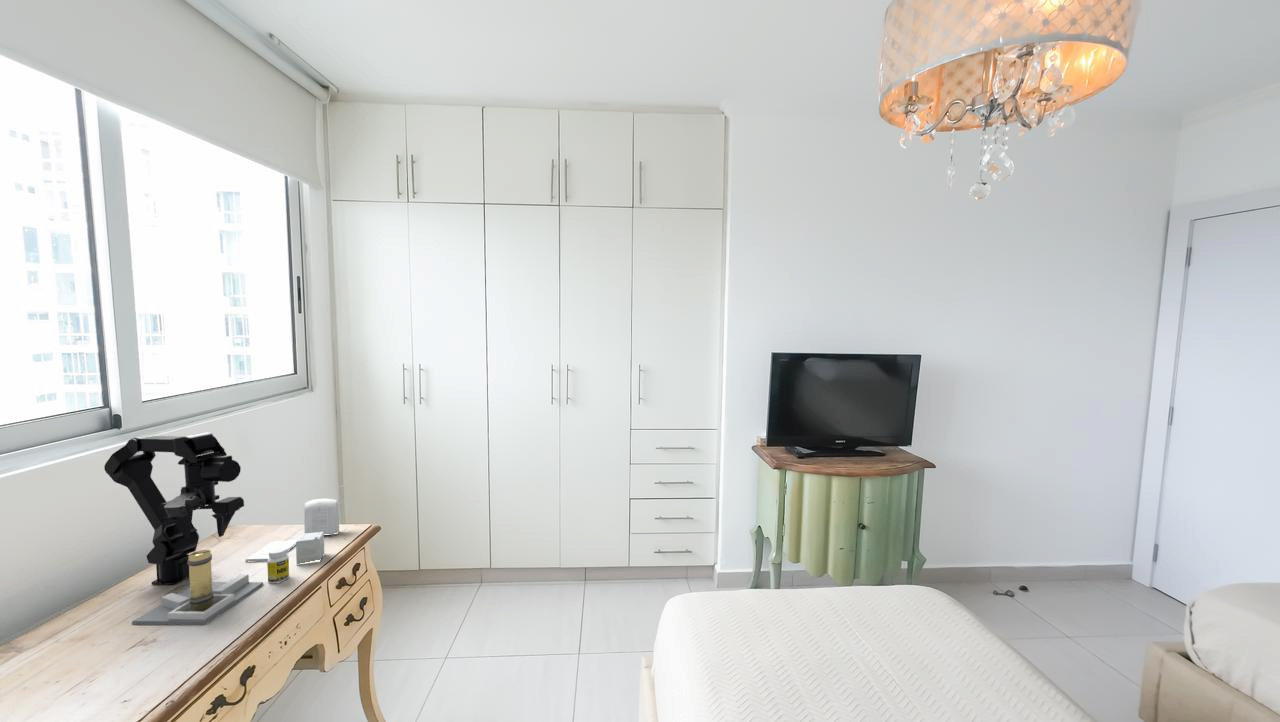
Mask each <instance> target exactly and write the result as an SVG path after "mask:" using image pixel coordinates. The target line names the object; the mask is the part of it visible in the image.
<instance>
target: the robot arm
mask: <svg viewBox="0 0 1280 722" xmlns="http://www.w3.org/2000/svg"><path fill="white" fill-rule="evenodd" d="M155 452H156V453H172V454H174V456H176V457H180V458H182V459H180V460H179V461H178V462H177V464H178V465H179V466H181V465H182V466H184V479H185V486H182V487H181V489H180V494H179V495H178V496H176V497H174V498H173V499H171V500H169V501H167V500H166V499H165V497H164V495H163V494H162V492H161V491H160V489H159V488H158V486H157V485H156V483H155V482H154V480H153V478H152V472H153V467H154V466H153V463H152V462H153V461H154V459H155V457H156V456H157V454H156V453H155ZM103 468H104V471H105V473H106V474H107V475H108V477H110V479H111V480H112V481H113V482H114V483H116V484H119V485H121V486H123V487H126V488H127V489H128V490H129V492H130V493H131V495H132V497H133V498H134V500H135V501H136V503H137V505H138V506H139V507H140V510H141V511H142V512H143V514H144V515H145V517H146V519H147V521H148V522H149V523H150V525H151V527H152V528H153V530H154V531H153V538H152V544H153V548H152V549H151V550H150V551H149V552H148V553H147V554H146V559H147V563H148V564H152V565H155V566H156V579H155V580H153V581H151V585H176V584H178V583H180V582H182V581H183V580H185V579H187V578H190V576H189V565H188V559H189V555H190V554H192V553H194V552H197V547H198V543H199V539H200V535H199V533H198V529H197V528H196V527H195V526H194V524H193V515H194V514H193V512H194V511H197V510H211V511H212V512H213V514H212V515H211V517H213V518H214V519H215V520H216V527H217V528H216V530H217V535H218V538H221V537H223V536H224V535H225V533H226V532H227V531H226V530H227V528H228V527H229V525H230V523H231V520H232V518H233V517H234V515H235V513H236V511H237V512H238V511H239V510H240V509H241V508H243V507H245V501H244V498H242V496H228V497H225V498H223V499H221V500H219V499H220V495H219V494H216V490H215V486H217V485H219V482H221V483H229V482H233V481H235V480H236V479H237V478H238V476H239V475H240V474H241V468H242V467H241V465H240V464H239V462H238V461H237V460H234V459H233V455H228V454H227V451H225V448H224V447H223V446H222V445H221V443H220V442H219V441H218V439H217V438H216V437H215V436H214V434H213V433H212V432H209V431H208V432H202V433H196V434H190V435H186V436H185V435H184V436H171V435H167V436H166V435H163V436H162V435H160V436H159V435H151V434H148V435H143V436H142V435H140V436H137V437H133V438H131V439H129V440H128V441H127V442H126V444H125V445H123V446H122V447H120V448H119V449H118V450H116V451H115V452H113V453H112V454H111V455H110V457H109V458H108V460H107V461H106V462H105V463H104V467H103Z"/></svg>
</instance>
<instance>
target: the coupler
mask: <svg viewBox="0 0 1280 722" xmlns="http://www.w3.org/2000/svg"><path fill="white" fill-rule="evenodd" d="M212 560H213V554H212V551H211V550H210V549H202V550H198V551H197V550H196V551H195V552H191V553H189V559H188V565H189V588H190V598H189V601H190V604H191V611H197V612H204V611H206V610H207V609H209V608H210V607H212V606H213V597H214V593H213V591H212V582H213V579H212V578H213V575H212V574H213V573H212Z"/></svg>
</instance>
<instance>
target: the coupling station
mask: <svg viewBox="0 0 1280 722" xmlns="http://www.w3.org/2000/svg"><path fill="white" fill-rule="evenodd" d="M249 579H250V578H249V574H247V573H246V574H245V573H243V574H241V573H240V574H238V575H236V576H235V577H233V578H232V579H230V580H228V581H212V591H213V593H214V597H213V606H212V607H210V608H209V609H207V610H206V611H204V612H197V611H191V604H190V601H189V598H190V587H188V589H185V590H184V591H182V592H180V593H173V592H170V593H167V594H166V595H164V596H161V597H160V600H161V601H160V602H161V603H160V604H159V605H158V606H156V607H154V608H152V609H150V610H149V611H147V612H145V613H143V614H141V615H140V616H139V617H136V618H134V619H133V620H132V622H131V625H176V626H177V625H178V626H179V625H185V626H187V625H189V626H190V625H193V626H194V625H195V626H196V625H197V626H202V625H203V626H204V625H207V624H208V623H210V622H211V621H212V620H214V619H215V618H217V617H219V616H220V615H221V614H224V612H226V611H228V610H229V609H230V608H232V607H234V606H235V605H236V604H238V603H239V602H241V601H242V600H243V598H244V599H245V598H246V596H247V597H248V596H249V595H251V594H253V593H254V592H255V591H257V590H258V589H260V588H261V587H263V586H264V582H263V581H258V582H257V581H249ZM262 585H263V586H262ZM240 600H241V601H240ZM237 602H238V603H237ZM218 615H219V616H218Z"/></svg>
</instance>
